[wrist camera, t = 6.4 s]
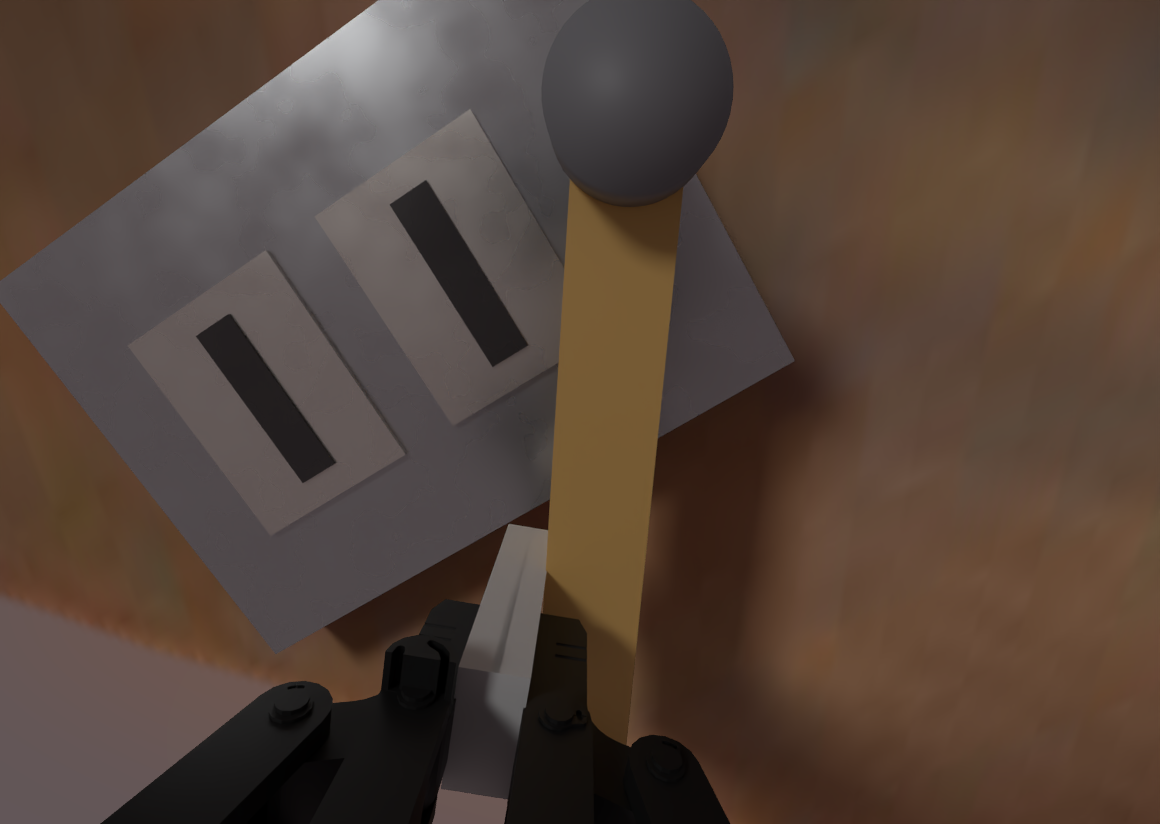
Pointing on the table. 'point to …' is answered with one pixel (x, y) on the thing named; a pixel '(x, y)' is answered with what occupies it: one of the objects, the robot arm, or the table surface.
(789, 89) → the table surface
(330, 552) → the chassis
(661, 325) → the yellow wooden bar
